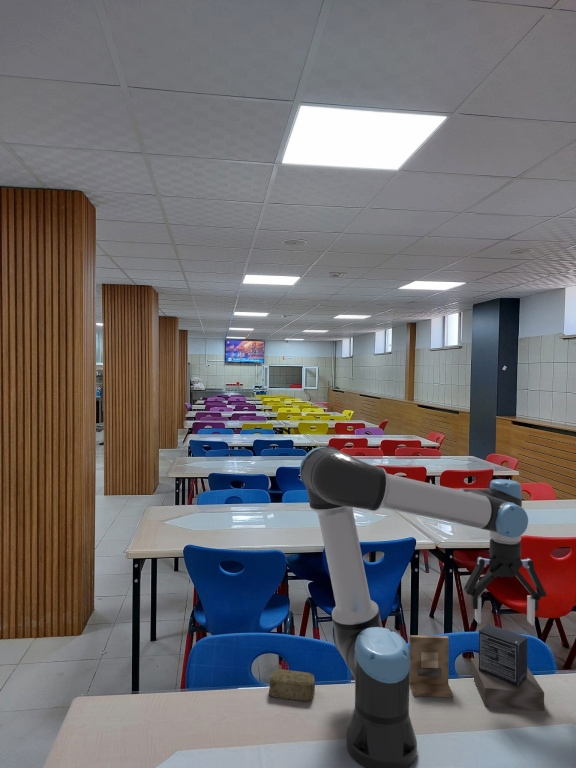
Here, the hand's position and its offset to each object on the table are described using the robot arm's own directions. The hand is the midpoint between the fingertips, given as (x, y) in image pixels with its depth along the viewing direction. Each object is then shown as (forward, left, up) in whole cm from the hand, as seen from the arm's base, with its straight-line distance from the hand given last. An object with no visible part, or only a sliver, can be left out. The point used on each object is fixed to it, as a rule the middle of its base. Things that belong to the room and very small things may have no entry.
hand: (504, 622), depth 131 cm
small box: (0, 0, -14) cm, 14 cm away
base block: (+1, 0, -19) cm, 19 cm away
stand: (-19, 0, -18) cm, 26 cm away
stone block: (-55, -4, -19) cm, 58 cm away
